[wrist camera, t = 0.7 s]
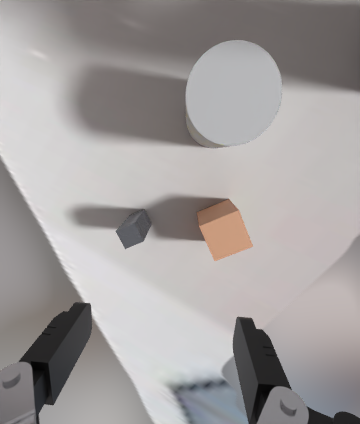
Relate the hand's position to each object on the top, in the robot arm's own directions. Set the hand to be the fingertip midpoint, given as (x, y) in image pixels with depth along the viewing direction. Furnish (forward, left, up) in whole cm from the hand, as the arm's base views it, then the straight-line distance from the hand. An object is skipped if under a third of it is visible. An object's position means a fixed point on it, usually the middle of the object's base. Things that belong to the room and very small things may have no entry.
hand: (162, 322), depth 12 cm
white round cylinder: (-10, -10, -23) cm, 27 cm away
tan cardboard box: (-5, +4, -23) cm, 24 cm away
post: (+6, -1, -23) cm, 23 cm away
